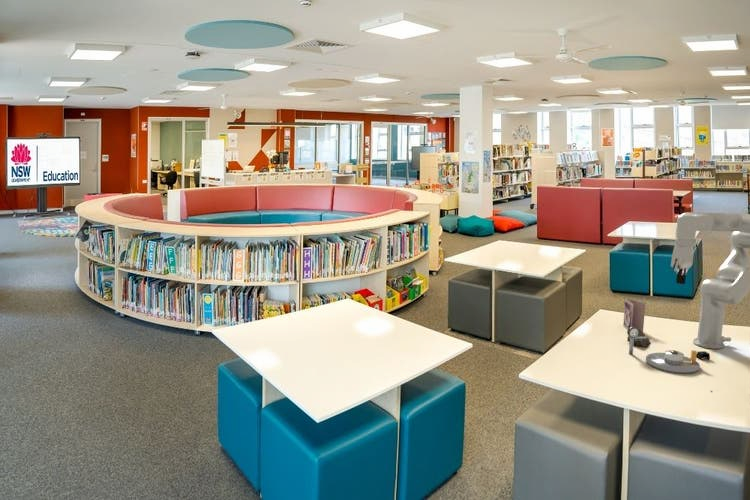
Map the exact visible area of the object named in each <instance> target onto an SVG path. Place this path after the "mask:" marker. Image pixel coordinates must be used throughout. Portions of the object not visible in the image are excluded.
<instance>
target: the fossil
mask: <svg viewBox="0 0 750 500" xmlns="http://www.w3.org/2000/svg"><path fill="white" fill-rule="evenodd" d="M637 329H639V328H637ZM638 337H646V339H634V346H633V347H641V348H649V346H650V345H652V344H651V341H650V339H649V338H648V336H646V335H645V333H644V331H643V332H642V331H641V330H640V329H639V335H638ZM626 338H627V340H626V341H627V342H628V345H629V346H630V336H628V335H627V337H626Z"/></svg>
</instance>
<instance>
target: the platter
mask: <svg viewBox="0 0 750 500" xmlns="http://www.w3.org/2000/svg"><path fill="white" fill-rule="evenodd" d="M697 352H698V351H697V350H691V352H690V357H688V356H684V357H683V364H682V365H679V366H677V365H670V364H667V363H665V362H664V354H665V352H653V353H649V354H647V355H646V356H645V362H646V364H647V365H649V367H652V368H654V369H656V370H659V371H662V372H666V373H671V374H676V375H677V374H678V375H688V374H689V375H692V374H696V373H699V371H700V369H701V368H700V367H701V365H700V363H699V362H698V361H697V358H696V355H697Z"/></svg>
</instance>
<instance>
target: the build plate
mask: <svg viewBox="0 0 750 500" xmlns="http://www.w3.org/2000/svg"><path fill="white" fill-rule="evenodd" d="M696 352H697V355H696V359H697V360H700V361H701V360H702V359H708V360H710V358H711V355H710V353H709V352H707V351H704V350H703V351H696Z"/></svg>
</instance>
